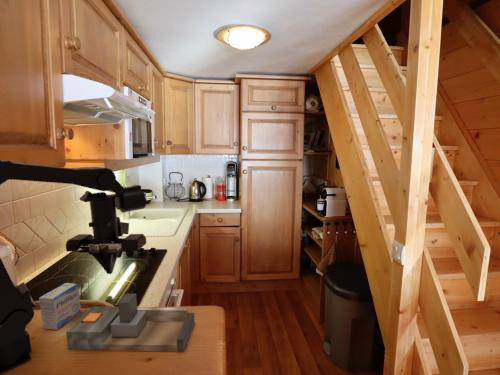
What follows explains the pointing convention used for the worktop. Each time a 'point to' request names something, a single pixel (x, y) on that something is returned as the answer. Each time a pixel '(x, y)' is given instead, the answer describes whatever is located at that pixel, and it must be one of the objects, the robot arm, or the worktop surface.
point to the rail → (149, 339)
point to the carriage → (128, 318)
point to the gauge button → (92, 318)
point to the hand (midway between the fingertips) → (110, 273)
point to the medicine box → (60, 306)
